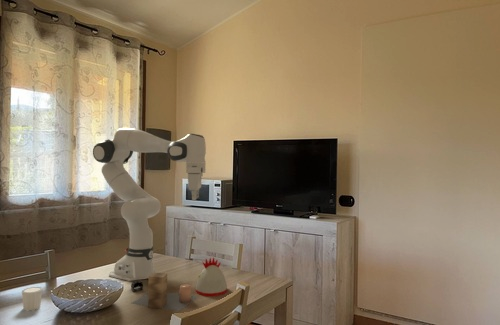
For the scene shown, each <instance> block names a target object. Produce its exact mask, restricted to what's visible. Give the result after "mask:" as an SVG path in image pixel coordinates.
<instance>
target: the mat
mask: <svg viewBox="0 0 500 325" xmlns="http://www.w3.org/2000/svg"><path fill="white" fill-rule="evenodd" d="M197 298H198V296H194V295H191V302H189V303H181V302H179V293H175V292H168V291H167V303H166V304H165V305H164V307H163V308H162V309H163V310H168V311H169V310H170V311H177V312H181V311H182V310H184V309H185V308H186V307H187V306H189V304H191V303H192V302H194V301H195V300H197ZM130 304H132V305H139V306H145V307H148V292H147V293H145V295H142V296H140V297H139V298H137V299H135V300H134V301H132V302H131V303H130Z"/></svg>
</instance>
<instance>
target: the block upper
mask: <svg viewBox="0 0 500 325" xmlns="http://www.w3.org/2000/svg"><path fill="white" fill-rule="evenodd" d="M166 289H167V290H168V273H167V272H154V273H153V274H152V275H150V276H149V278H148V292H155V293H162V292H164V291H165V290H166ZM148 292H147V293H148Z"/></svg>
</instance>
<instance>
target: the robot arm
mask: <svg viewBox="0 0 500 325" xmlns="http://www.w3.org/2000/svg"><path fill="white" fill-rule="evenodd" d="M206 145H207V144H206V139H205V137H204V136H203V135H201V134H196V133H188V134H187V135H186V136H185V137H182V138H181V139H178V140H175V141H173V140H172V141H171V140H167V139H164V138H162V137H159V136H157V135H154V134H152V133H149V132H148V131H144V130H142V129H137V128H132V127H121V128H118V129H117V130H116V131H115V133H114V137H113V138H112V139H105V140H101V141H100V142H98V143H96V144H94V146H93V149H92V156H93V158H94V159H95V161H97V162H98V163H101V164H102V163H103V165H102V167H101V174H102V175H103V178H104V180H105V181H106V183H107V184H108V185H109V187H110V188H111V189H112V191H113V192H114V194H115V195H116V196H117V197H118V199H121V200H122V201H124V203H123V204H122V205H121V208H120V214H121V217H122V218H123V219H124V220H125V221H126V224H127V227H128V232H129V247H127V248H125V249H124V252H126V254H124V256H122V257H121V258H120V259H119V260H117V261H116V262H115V263H114V268H113V270H112V271H111V272H109V273H108V276H109V277H111V278H116V279H119V280H123V281H128V282H131V281H132V282H133V281H139V280H140V281H141V280H146V279H149V276H150V275H152V274H153V273H154V272H155V269H154V268H155V267H154V261H153V258H154V246H153V241H154V240H153V239H154V238H153V235H154V234H153V229H151V227H150V225H149V221H148V219H150V218H153V217H155V216H157V215H158V214H159V212H161V208H162V206H161V201H160V200H159V198H156V197H154V196H152V195H151V194H149V193H148V192H147V191H146V190H145V189H144V188H142V187H141V186H140V185H139V184H138V183H137V182H136V181H135V179H134V178H133V177H132V176H131V174H130V173H129V172H128V171H127V170H126V168H125V167H124V165H125V164H127V163H128V162H129V160H130V159H131V157H132V156H133V154H134V153H141V154H142V153H146V154H147V153H166V154H167V157H168V158H169V159H170V161H173V162H180V163H181V162H183V163H185V173H187V184H188V190H189V191H190V192H191V200H192V201H196V200H197V199H199V197H200V196H199V194H200V189H201V188H202V177H203V174H205V173H206V164H207V163H206V159H205V158H206V154H207V152H206V150H207V149H206V148H207V147H206ZM155 273H156V272H155Z"/></svg>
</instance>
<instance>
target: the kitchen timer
mask: <svg viewBox="0 0 500 325" xmlns="http://www.w3.org/2000/svg"><path fill="white" fill-rule="evenodd" d="M202 265H203V267H204V268H203V269H202V270H201V272H200V273H199V275H198V277H197V279H196V283H195V284H196V285H195V293H196V294H197V295H200V296H205V297H216V296H221V295H224V294H226V293H227V292H228V291H227V290H228V287H227V286H228V285H227V281H226V277H225V274H224V273H223V271H222V269H221V268H220V266H221V262H220V261H219V262H218V259H216V260H215V258H214V257H213V258H212V257H209V260H208V259H207V258H205V261H202Z"/></svg>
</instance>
